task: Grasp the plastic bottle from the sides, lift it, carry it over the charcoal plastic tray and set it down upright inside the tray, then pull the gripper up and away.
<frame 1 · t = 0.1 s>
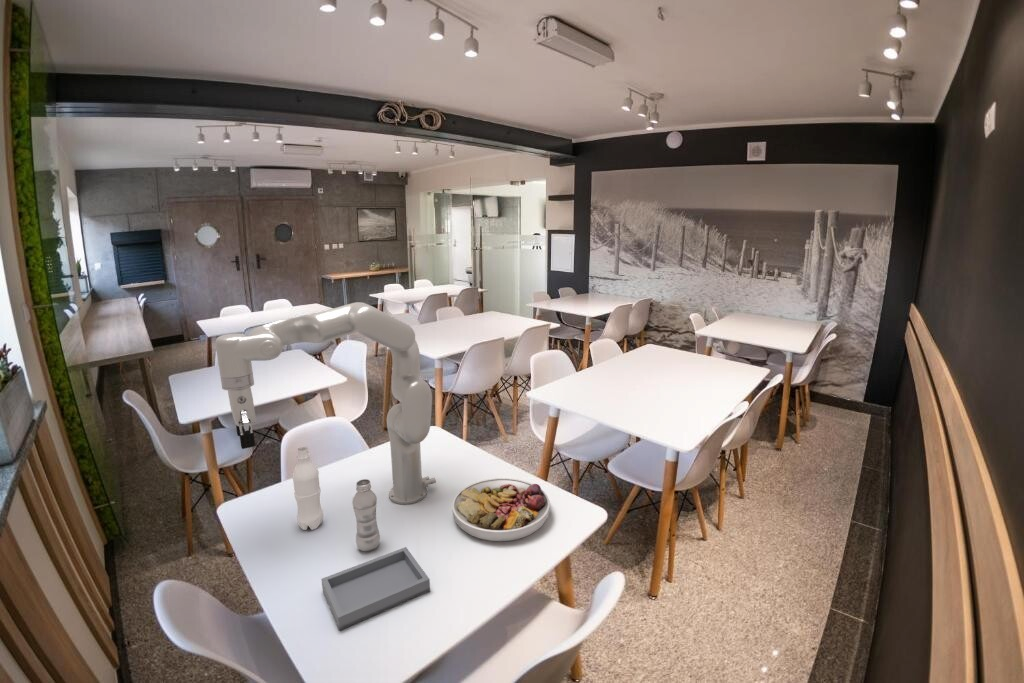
hand: (246, 440, 135), 31 cm above the table, tool pointing down, fingers open, 9 cm apart
water bottle: (311, 526, 150), on the table
tray: (376, 591, 123), on the table
bowl: (501, 517, 155), on the table
plastic bottle: (368, 547, 140), on the table
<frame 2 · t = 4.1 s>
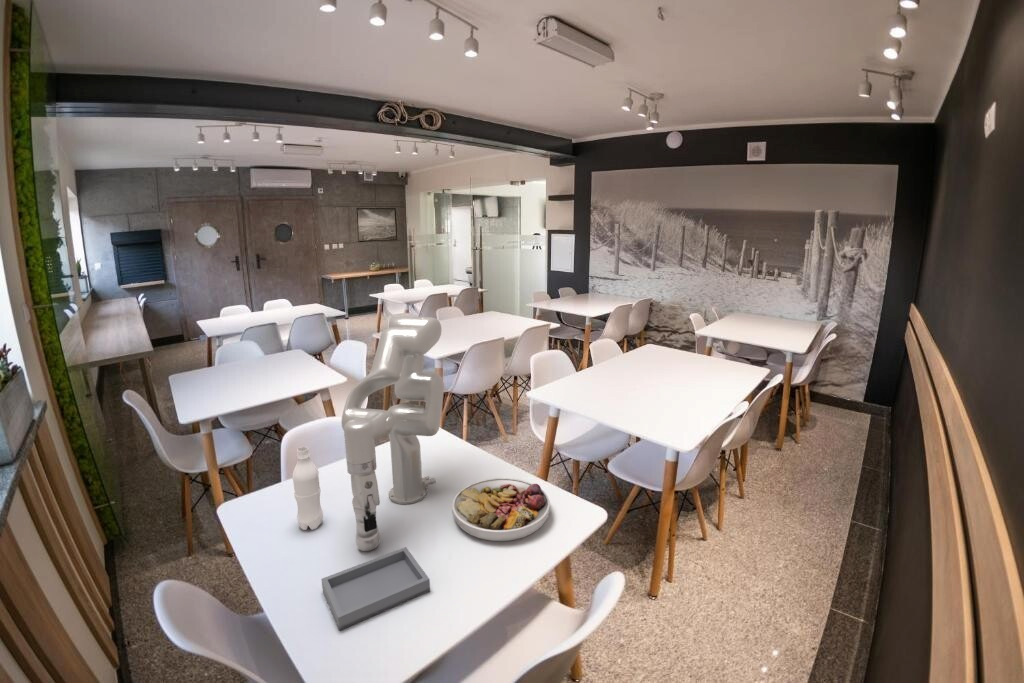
hand: (366, 523, 138), 8 cm above the table, tool pointing down, fingers closed on plastic bottle, 6 cm apart
plastic bottle: (368, 547, 140), on the table, touching gripper
everything else where it was.
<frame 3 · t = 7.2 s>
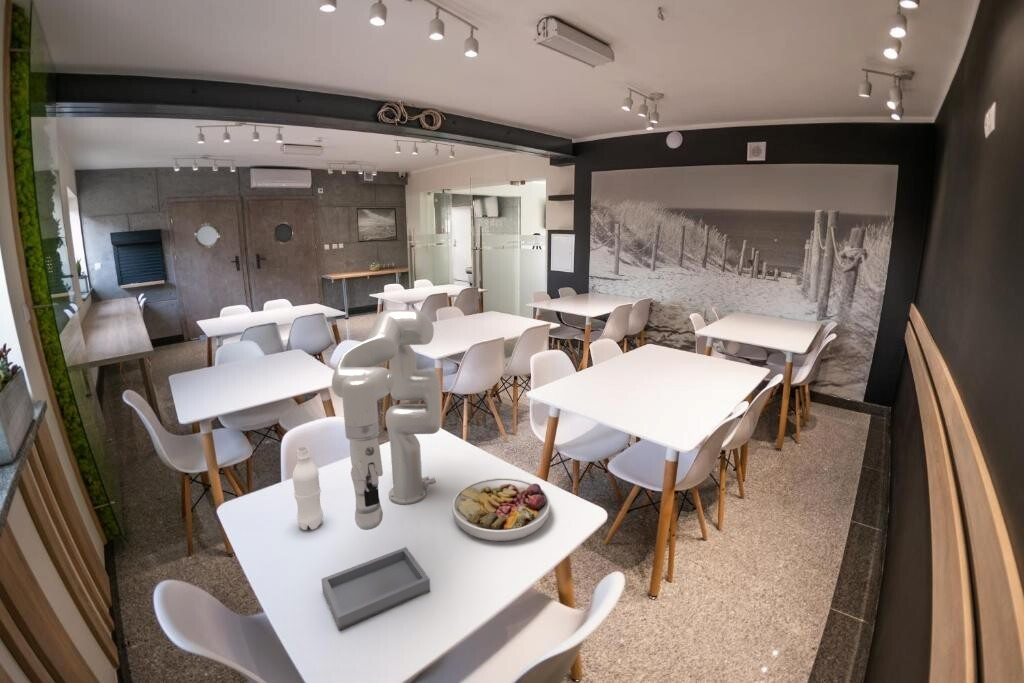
hand: (367, 497, 120), 24 cm above the table, tool pointing down, fingers closed on plastic bottle, 6 cm apart
plastic bottle: (369, 526, 122), point 16 cm above the table, touching gripper
everything else where it was.
when the fingers open (10 cm above the table, at t = 10.5 s): plastic bottle drops 1 cm, resting on tray.
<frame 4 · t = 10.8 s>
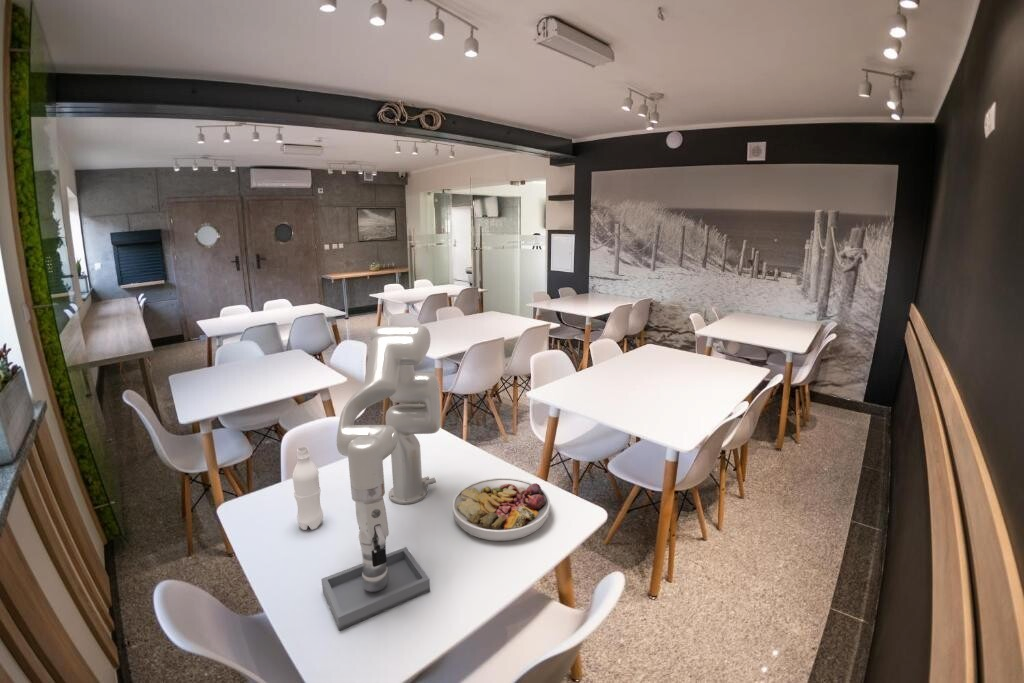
hand: (373, 553, 121), 11 cm above the table, tool pointing down, fingers open, 8 cm apart
plastic bottle: (375, 587, 123), point 1 cm above the table, touching tray
everything else where it was.
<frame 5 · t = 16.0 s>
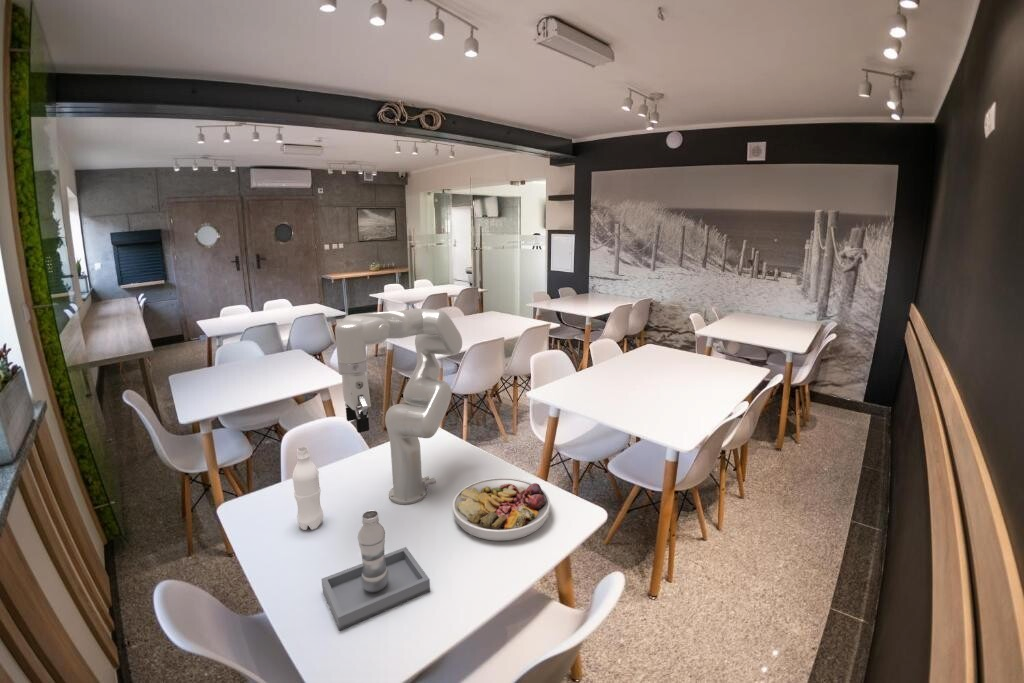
hand: (357, 425, 140), 33 cm above the table, tool pointing down, fingers open, 9 cm apart
nothing on the table moved.
at the end: plastic bottle inside the target area on the tray (0.2 cm from its centre), point 0.8 cm above the tray's base; plastic bottle tilted 0°; the gripper is holding nothing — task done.
